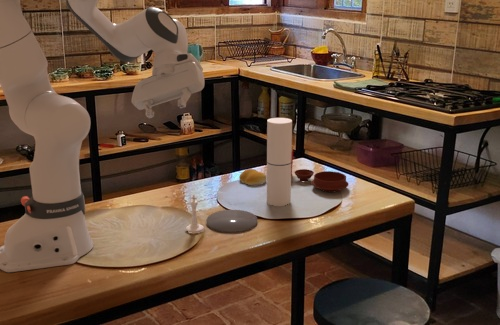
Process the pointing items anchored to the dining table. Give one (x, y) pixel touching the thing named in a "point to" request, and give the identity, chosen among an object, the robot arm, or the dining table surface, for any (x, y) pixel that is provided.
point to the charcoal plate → (231, 221)
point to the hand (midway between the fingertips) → (165, 111)
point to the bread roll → (252, 177)
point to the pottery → (324, 179)
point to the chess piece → (194, 218)
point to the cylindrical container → (279, 161)
